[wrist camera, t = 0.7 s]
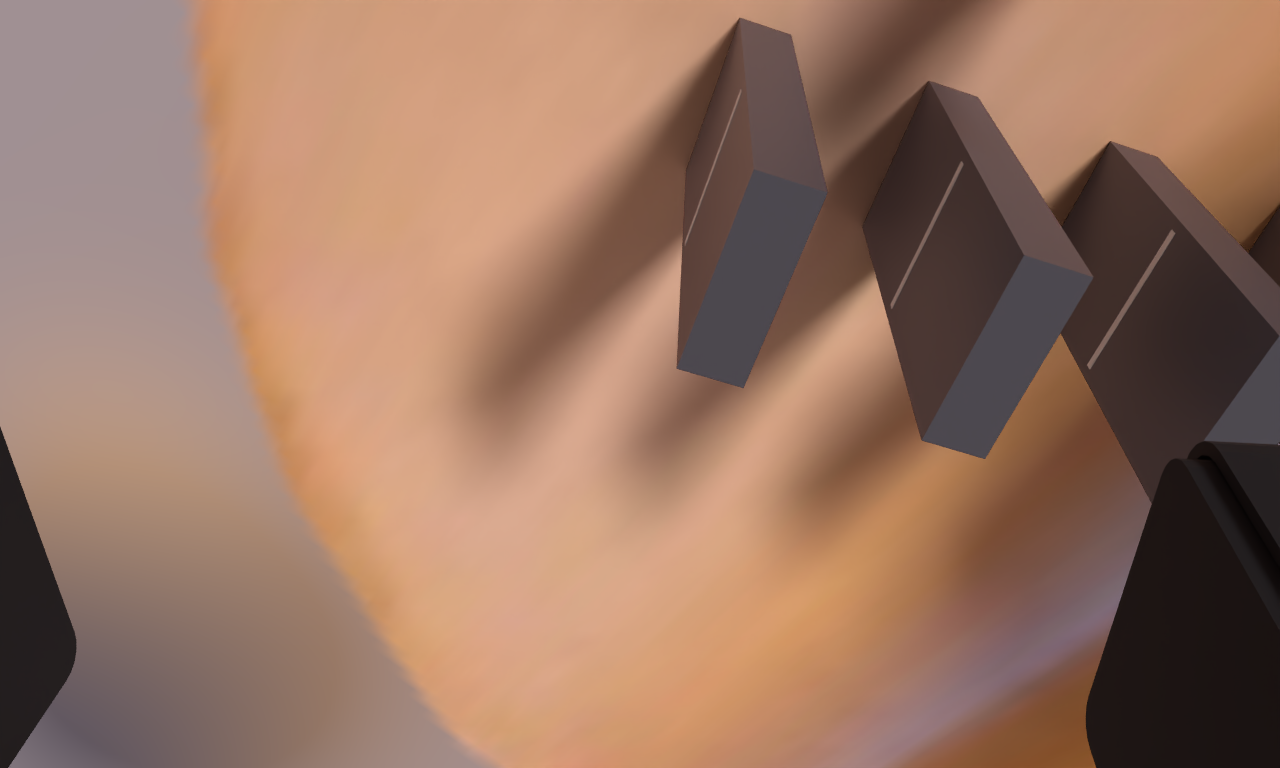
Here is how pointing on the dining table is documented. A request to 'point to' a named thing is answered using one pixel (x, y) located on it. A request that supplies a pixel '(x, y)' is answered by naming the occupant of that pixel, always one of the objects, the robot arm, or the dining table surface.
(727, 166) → the domino
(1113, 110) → the dining table surface
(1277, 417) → the domino
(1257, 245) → the domino
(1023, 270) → the domino
